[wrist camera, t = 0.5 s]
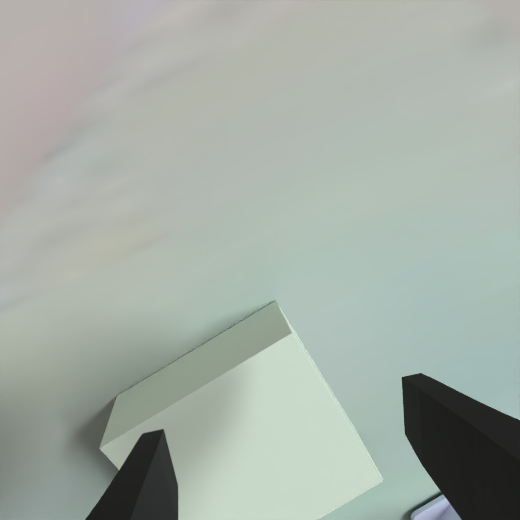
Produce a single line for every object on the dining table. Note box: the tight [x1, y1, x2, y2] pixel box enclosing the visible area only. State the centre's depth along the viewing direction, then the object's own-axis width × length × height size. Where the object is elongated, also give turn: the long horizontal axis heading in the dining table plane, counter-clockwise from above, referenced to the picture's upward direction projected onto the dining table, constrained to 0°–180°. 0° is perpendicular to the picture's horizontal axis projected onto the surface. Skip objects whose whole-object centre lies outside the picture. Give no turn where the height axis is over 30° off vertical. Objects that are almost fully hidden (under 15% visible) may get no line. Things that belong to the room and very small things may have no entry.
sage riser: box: [99, 301, 384, 520], centre depth 21 cm, size 10×10×4 cm
